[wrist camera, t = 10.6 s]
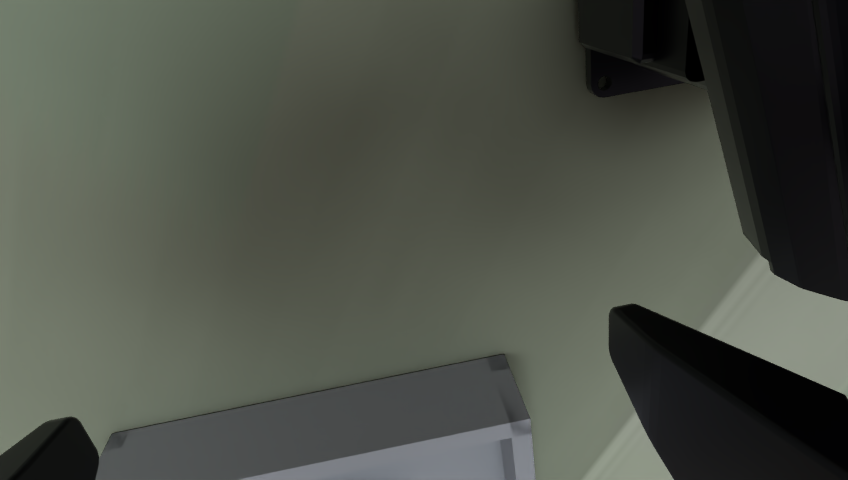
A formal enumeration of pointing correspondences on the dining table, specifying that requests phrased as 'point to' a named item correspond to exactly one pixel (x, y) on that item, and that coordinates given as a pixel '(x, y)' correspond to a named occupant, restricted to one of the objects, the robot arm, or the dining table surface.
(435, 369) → the tote
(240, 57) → the dining table surface
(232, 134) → the dining table surface
